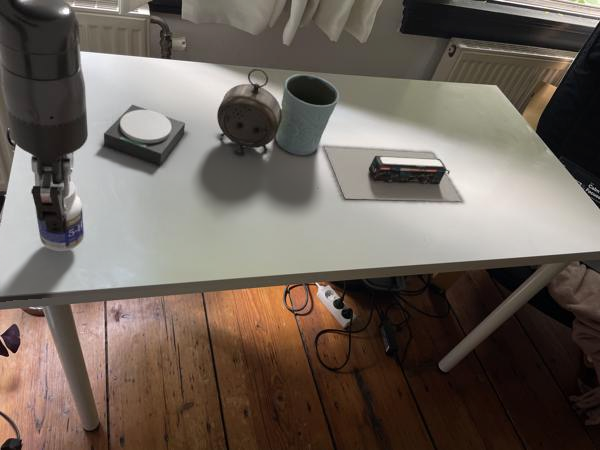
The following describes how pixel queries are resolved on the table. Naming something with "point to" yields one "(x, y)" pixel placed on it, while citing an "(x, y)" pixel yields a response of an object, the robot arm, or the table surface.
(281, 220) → the table surface
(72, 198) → the pill bottle
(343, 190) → the grey flat tray
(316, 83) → the teal ceramic cup
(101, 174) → the table surface
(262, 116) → the alarm clock
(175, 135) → the scale
